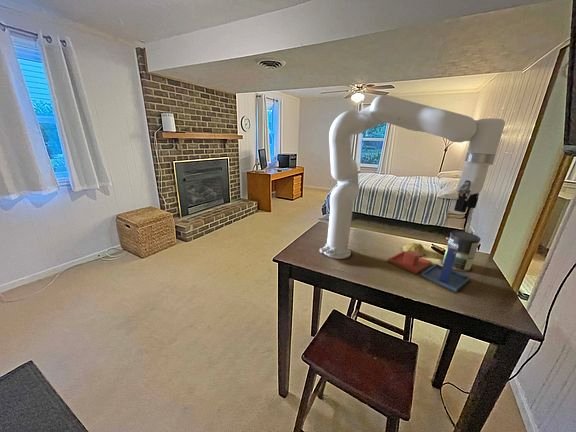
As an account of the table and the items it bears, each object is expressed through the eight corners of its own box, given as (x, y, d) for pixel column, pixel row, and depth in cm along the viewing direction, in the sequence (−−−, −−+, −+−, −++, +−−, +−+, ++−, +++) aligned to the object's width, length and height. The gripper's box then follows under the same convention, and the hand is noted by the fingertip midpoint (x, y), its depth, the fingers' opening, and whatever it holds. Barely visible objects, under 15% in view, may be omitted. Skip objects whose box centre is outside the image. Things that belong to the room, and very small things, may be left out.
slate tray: (455, 293, 85) (457, 289, 85) (420, 276, 94) (421, 273, 94) (469, 280, 93) (470, 277, 92) (435, 267, 102) (436, 263, 101)
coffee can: (450, 271, 99) (460, 239, 95) (437, 258, 109) (445, 229, 105) (476, 272, 99) (487, 241, 94) (461, 260, 109) (469, 231, 104)
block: (412, 266, 101) (414, 256, 99) (402, 261, 104) (404, 252, 103) (417, 263, 103) (420, 253, 102) (407, 258, 107) (409, 249, 105)
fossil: (406, 234, 119) (429, 239, 114) (404, 243, 122) (426, 249, 117) (401, 247, 111) (426, 253, 106) (399, 257, 114) (423, 263, 109)
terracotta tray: (416, 274, 96) (416, 271, 95) (387, 261, 105) (388, 258, 104) (430, 265, 103) (431, 261, 103) (403, 253, 112) (404, 250, 112)
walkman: (447, 283, 90) (456, 254, 86) (439, 280, 91) (446, 251, 87) (450, 274, 95) (458, 247, 92) (442, 272, 97) (449, 245, 93)
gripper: (474, 157, 87) (461, 203, 92) (456, 158, 77) (442, 210, 82) (501, 159, 81) (485, 208, 87) (484, 161, 71) (468, 216, 77)
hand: (464, 209), depth 84 cm, fingers open, 9 cm apart
